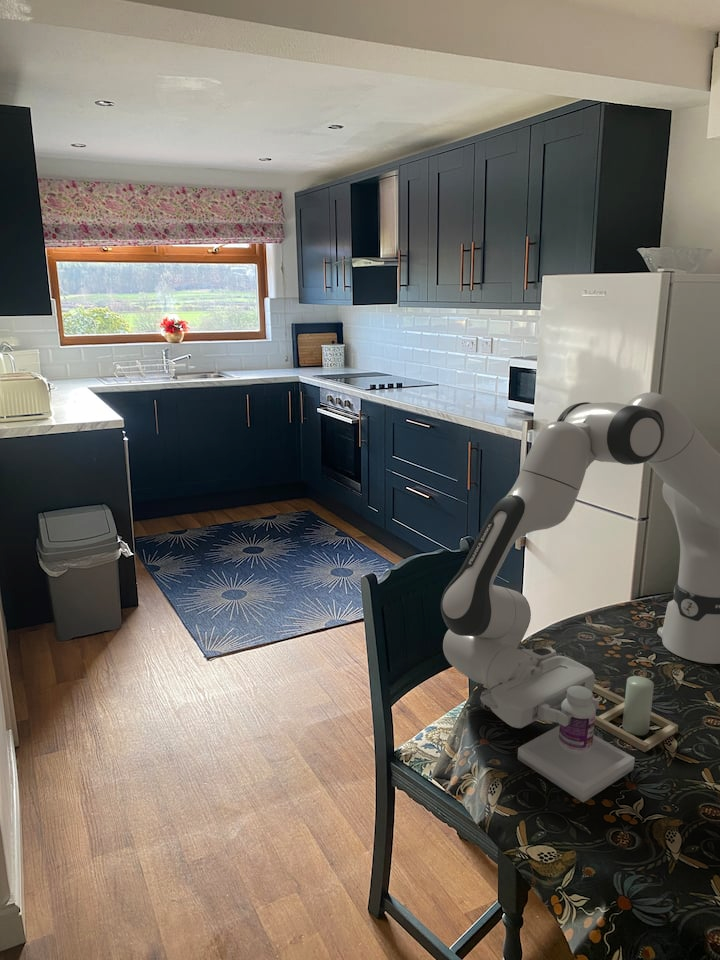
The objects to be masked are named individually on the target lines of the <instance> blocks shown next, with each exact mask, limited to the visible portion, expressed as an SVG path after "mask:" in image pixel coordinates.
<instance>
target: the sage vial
mask: <svg viewBox="0 0 720 960" xmlns="http://www.w3.org/2000/svg"><path fill="white" fill-rule="evenodd" d="M654 688H655V683H654V682H653V680H651V679H649V678H647V677H644V676H642V675H641V676H640V675H633V676H629V677H627V678H626V685H625V695H624V696H625V697H624V698H625V704H624V713H623V714H622V715H623V716H622V725H621V726H622V730H624V731H626V732H628V733H629V734H631V735H633V736H645V735H648V733H649V732H650V724H651V723H650V722H651V721H650V716H651V712H652V707H653V706H652V704H653V698H654Z"/></svg>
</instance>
